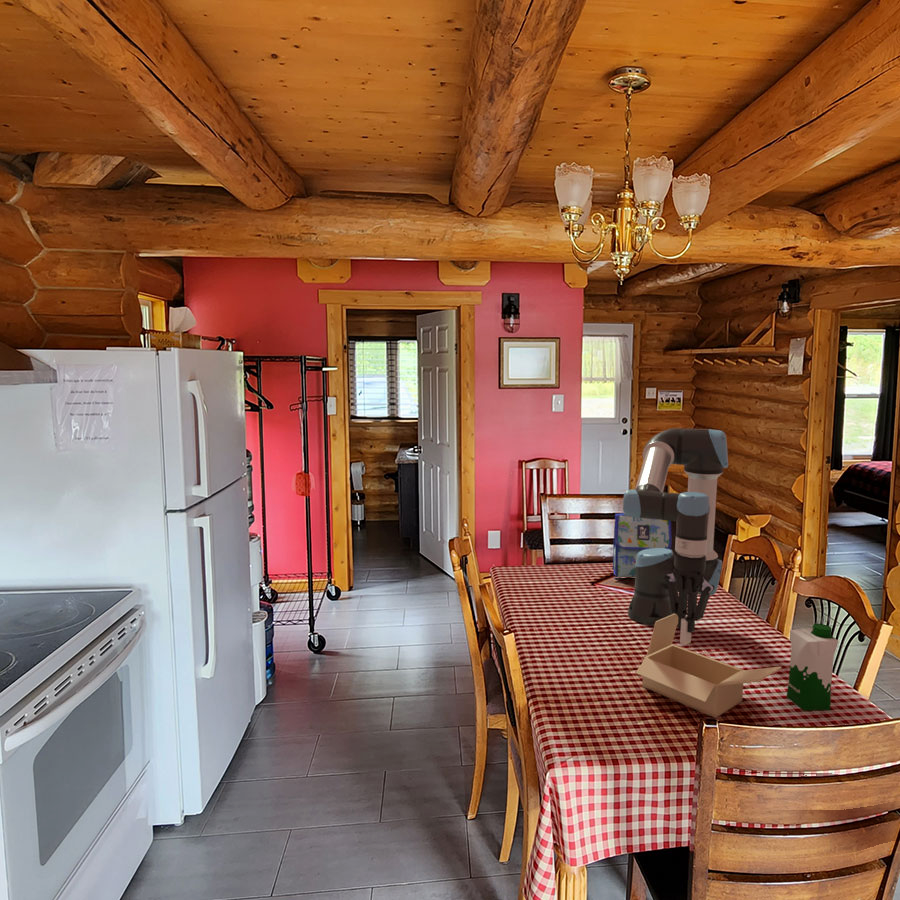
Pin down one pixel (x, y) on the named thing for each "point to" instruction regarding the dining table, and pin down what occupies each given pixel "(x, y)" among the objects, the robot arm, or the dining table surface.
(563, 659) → the dining table surface
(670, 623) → the flap
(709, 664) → the carton
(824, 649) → the milk carton
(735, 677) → the flap
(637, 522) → the lunch bag
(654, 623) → the robot arm
